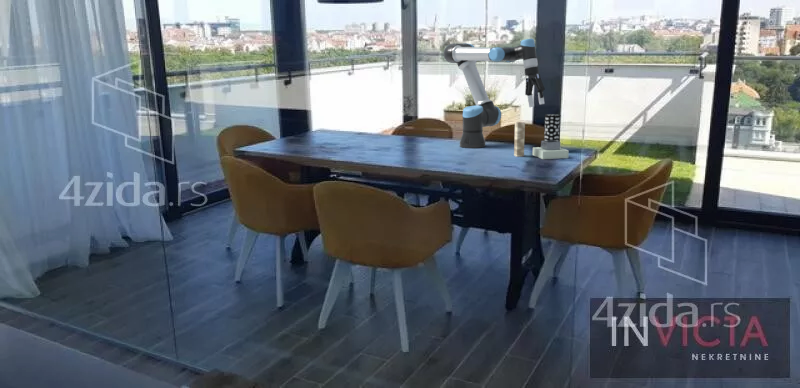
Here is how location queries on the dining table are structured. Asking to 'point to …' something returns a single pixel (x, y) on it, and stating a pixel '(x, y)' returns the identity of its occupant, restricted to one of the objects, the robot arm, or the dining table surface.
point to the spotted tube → (552, 127)
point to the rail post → (519, 139)
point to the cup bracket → (550, 145)
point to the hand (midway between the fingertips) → (536, 105)
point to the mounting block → (550, 153)
